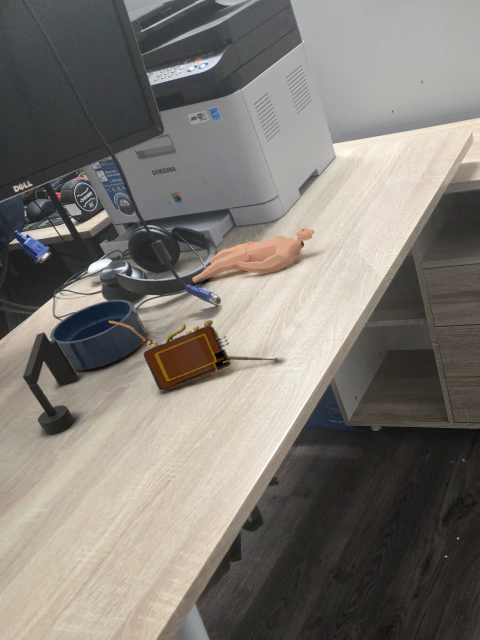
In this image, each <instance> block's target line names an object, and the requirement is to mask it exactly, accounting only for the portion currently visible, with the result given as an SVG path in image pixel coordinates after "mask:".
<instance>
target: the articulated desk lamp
mask: <svg viewBox="0 0 480 640" xmlns="http://www.w3.org/2000/svg"><path fill="white" fill-rule="evenodd" d="M44 364H45V365H46V367H47V368H48V370H49V372H50V373H51V374H52V376H53V378H54V379H55V381H56V383H57V385H58V386H59V387H62V386H65V385H69V384H72V383H74V382H77V381H78V380H79V376H78V374H77V373H76V370H75V369H73V368H72V366H71V364H70V363H69V361H68V360H67V358H66V356H65V355H64V353H63V351H62V350H61V348H60V346H59V345H58V343H57V341H56V340H50V338H48V336H47V335H46V333H45V332H44V331H43V332H40V333H37V334H36V335H35V339H34V342H33V345H32V348H31V351H30V353H29V356H28V360H27V363H26V366H25V369H24V371H23V375H22V378H23V380H24V381H25V383H26V384H27V386H28V388H29V390H30V391H31V393H32V394H33V396H34V397H35V399H36V400H37V402H38V403H39V405H40V406H41V408H42V409H43V410H44V411H43V412H42V413H41V414H40V415H39V416H38V418H37V423H38V424H39V425H40V427H41V428H42V430H43V432H45V434H46V435H56V434H59V433H62V432H64V431H66V430H67V429H68V428H70V427H71V426H72V425H73V423H74V422H75V417H74V416H73V414H72V413H71V411H70V410H69V408H68V407H67V406H66V405H62V404H60V405H55V406H53V405H52V403H51V402H50V400H49V399H48V397H47V396H46V394H45V393H44V391H43V389H42V388H41V387H40V385H39V384H38V383H39V379H40V375H41V371H42V369H43V366H44Z"/></svg>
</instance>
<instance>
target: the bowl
mask: <svg viewBox="0 0 480 640" xmlns="http://www.w3.org/2000/svg"><path fill="white" fill-rule="evenodd" d="M109 321H114V322H118V323H119V322H120V323H123V324H126V325H128V326H131V327H132V328H134V329H135V331H137V333H138V334H140V335H141V336H142V337H144V338H145V339H146V337H147V330H146V328H145V325H144V323H143V322H142V319H141V317H140V316H139V312H138V311H137V309H136V307H135V306H134V304H133V303H132V302H131V301H129V300H127V299H126V300H125V299H112V300H106V301H101V302H98V303H94V304H92V305H88V306H86V307H83V308H82V309H79V310H76V311H75V312H73V313H72V314H70V315H68V316H66V317H65V318H63V319H62V320H61V321H60V322H58V323H57V324H56V325H55V327H53V329H52V330H51V331H50V335H49V339H50V341H52V340H56V341H57V343H58V345H59V346H60V348H61V350H62V351H63V353H64V355H65V356H66V358H67V360H68V361H69V363H70V364H71V366H72V368H73V369H74V370H80V371H81V370H91V369H96V368H100V367H104V366H107V365H109V364H113V363H114V362H116V361H119V360H121V359H123V358H124V357H126V356H128V355H129V354H130V353H132V352H134V351H135V350H136V349H137V348H138V347H139V346H140V345H142V343H141V341H142V340H143V339H144V338H142V339H141V337H140V336H138V335H137V334H136V333H134V331H132V330H133V329H132V330H131V329H130V328H131V327H130V328H127V327H126V326H122V325H117V324H113V323H109Z"/></svg>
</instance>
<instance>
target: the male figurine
mask: <svg viewBox="0 0 480 640" xmlns="http://www.w3.org/2000/svg"><path fill="white" fill-rule="evenodd" d="M314 233H315V230H314V229H311V228H303V227H301V228H300V230H298V231H296V232H295V236H296V238H291V237H286V236H282V235H277V236H274V237H272V238H269V239H267V240H265V241H259V242H257V241H248V242H244V243H240V244H237V245H234V246H232V247H230V248H229V247H228V248H223V249H221V250H220V251H219V252H218V253H216V254H215V255H214V256H212V257H211V258H210V259H209V260H208V261H209V262H210V263H211V265H209V266H206V268H205V269H201V270H202V271H201V273H199V274H197V275H195V276H193V277H192V282H193V283H194V284H198V283H200V282H202V281H204V280H207V279H209V278H213V277H215V276H217V275H219V274H223V273H224V272H228V271H233V270H234V271H235V270H236V271H245V272H249V273H253V274H268V273H275V272H278V271H281V270H283V269H285V268H286V267H288V266H289V265H291V263H292V262H293V261H294V260H295V258H296V256H297V255H299V254H300V252H301V250H302V249H303V248H304V247H305V243H304V242H305V241H309V240H311V239H312V238H313V235H314ZM202 264H203V263H201V264H200V268H201V267H202V266H201V265H202Z"/></svg>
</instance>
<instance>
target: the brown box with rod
mask: <svg viewBox="0 0 480 640" xmlns="http://www.w3.org/2000/svg"><path fill="white" fill-rule="evenodd" d="M109 323H113V324H117V325H122V326H126V327H127V328H130V327H131V326H128V325H126V324H123V323H120V322H119V323H118V322H114V321H109ZM213 324H214V321H213V319H208V320H205V321H204V323H203V326H202V327H200V326H199V325H196V326H194V327H193V328H192V330H193V331H192V330H189V331H186V332H185V334H183V335H180V336H178V337H175V336H177V335H179V334H181V333H183V332H184V331H185V330H186V329H187V325H186V323H185V322H183V324H182V327H181V328H180V329H178V330H177V331H174V332H173V333H171V334H169V335H168V336H167V338H166V340H165V343H161V344H159V343H158V341H153V340H152V339H150V338H146V337H145V338H144V337H142V336H141V335H140V334H138V333H137V331H135V329H134V328H132V327H131V328H130V329H131V330H132V329H133V330H132V331H134V333H136V334H137V335H138V336H140V337H141V339H142V338H144V339H143V340H142V341H141V345H143V346H145V347H147V350H145V351H143V357H144V361H145V363H146V364H147V366H148V368H149V371H150V373H151V375H152V378H153V380H154V382H155V385H156V386H157V388H158V389H159V391H164V390H172V389H174V388H177V387H179V386H181V385H184V384H186V383H189V382H191V381H195V382H196V381H198V380H200V379H203V378H205V377H208V376H210V375H213V374H215V373H216V371H220V370H223V369H225V368H227V367H230V366H231V365H232V363H231V362H232V361H274V362H277V363H278V362H279V358H278V357H275V358H265V357H263V358H262V357H254V356H253V357H250V356H236V355H235V356H234V355H228V353H227V351H226V349H225V348H224V347H226V346H228V345H230V342H229V341H228V340H229V339H227V337H228V335H223V336H221V337H220V335H219V333H218V331H216V329H215V328H214V326H213ZM174 337H175V338H174ZM146 341H147V344H145V343H144V342H146ZM150 346H151V347H150Z"/></svg>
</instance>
